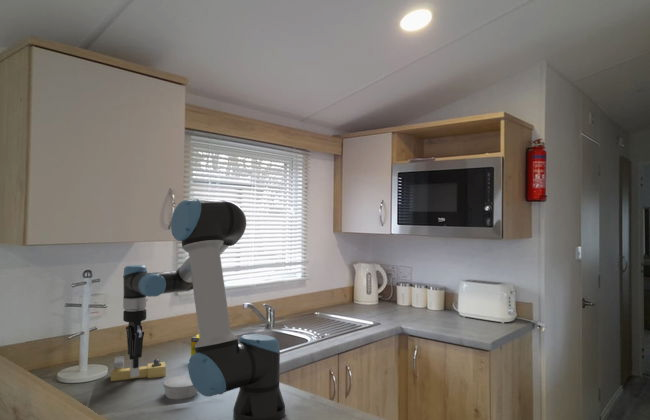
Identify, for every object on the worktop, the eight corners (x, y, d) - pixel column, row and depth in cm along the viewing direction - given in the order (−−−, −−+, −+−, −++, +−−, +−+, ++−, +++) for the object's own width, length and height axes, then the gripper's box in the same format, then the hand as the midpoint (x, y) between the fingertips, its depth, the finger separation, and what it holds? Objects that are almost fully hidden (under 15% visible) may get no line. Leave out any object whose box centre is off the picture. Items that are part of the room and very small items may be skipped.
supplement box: (204, 366, 179) (204, 338, 180) (190, 365, 180) (190, 337, 181) (210, 361, 185) (211, 334, 185) (196, 360, 186) (197, 333, 186)
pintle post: (159, 375, 166) (159, 360, 166) (153, 376, 165) (153, 360, 165) (159, 373, 168) (159, 358, 168) (153, 374, 167) (153, 359, 167)
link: (164, 370, 170) (164, 361, 170) (165, 376, 165) (165, 366, 165) (111, 377, 163) (111, 367, 163) (110, 382, 158) (110, 372, 158)
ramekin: (206, 396, 149) (206, 380, 149) (175, 407, 141) (175, 389, 141) (187, 388, 156) (187, 372, 156) (157, 397, 148) (157, 381, 148)
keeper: (123, 381, 160) (123, 362, 160) (113, 382, 159) (113, 363, 159) (123, 374, 167) (124, 356, 167) (114, 375, 166) (115, 356, 166)
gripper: (151, 310, 159) (151, 379, 158) (140, 305, 169) (139, 369, 168) (129, 313, 154) (128, 383, 154) (118, 307, 164) (118, 374, 164)
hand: (134, 376), depth 161 cm, fingers closed
